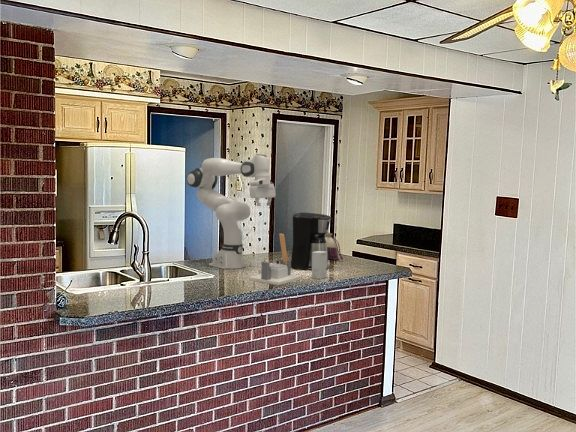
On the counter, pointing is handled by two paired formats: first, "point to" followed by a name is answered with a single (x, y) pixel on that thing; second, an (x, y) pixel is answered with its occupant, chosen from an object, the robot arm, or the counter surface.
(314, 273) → the skincare box
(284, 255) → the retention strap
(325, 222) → the coffee maker
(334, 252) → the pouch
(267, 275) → the socket board
